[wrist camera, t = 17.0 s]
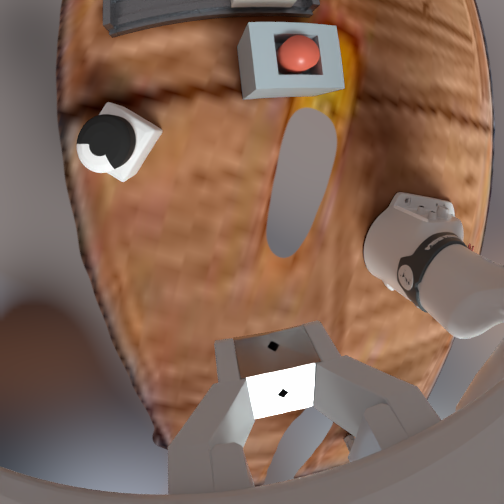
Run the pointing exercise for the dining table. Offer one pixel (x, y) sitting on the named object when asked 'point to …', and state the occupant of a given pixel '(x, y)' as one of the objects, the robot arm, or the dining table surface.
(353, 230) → the dining table surface
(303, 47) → the button
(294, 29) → the gauge cabinet
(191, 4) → the rail
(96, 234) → the dining table surface
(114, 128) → the medicine bottle
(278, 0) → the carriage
